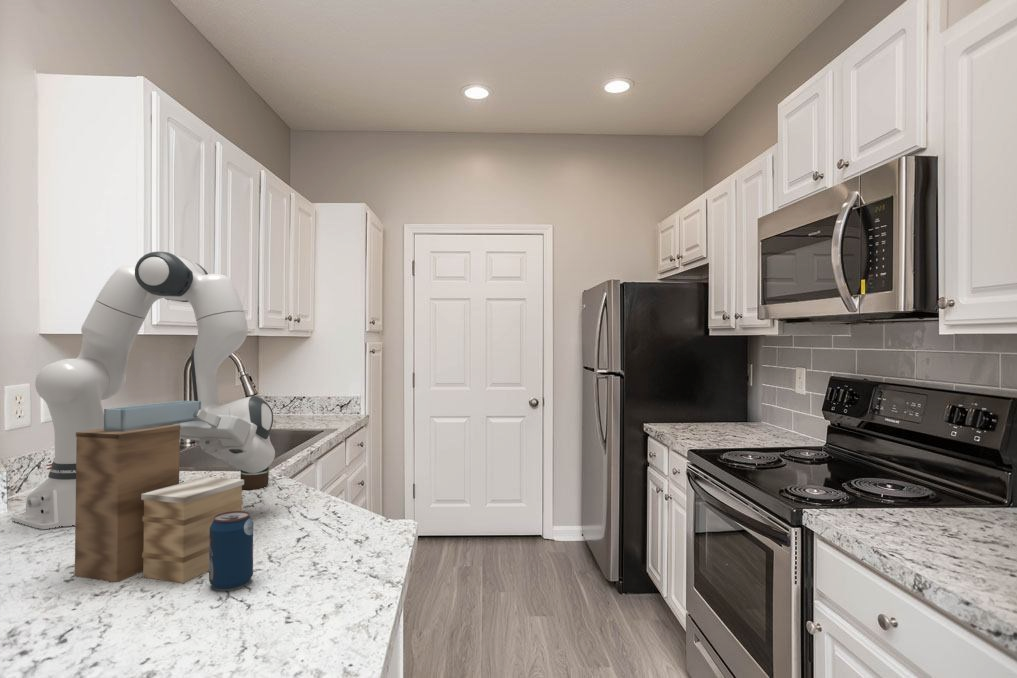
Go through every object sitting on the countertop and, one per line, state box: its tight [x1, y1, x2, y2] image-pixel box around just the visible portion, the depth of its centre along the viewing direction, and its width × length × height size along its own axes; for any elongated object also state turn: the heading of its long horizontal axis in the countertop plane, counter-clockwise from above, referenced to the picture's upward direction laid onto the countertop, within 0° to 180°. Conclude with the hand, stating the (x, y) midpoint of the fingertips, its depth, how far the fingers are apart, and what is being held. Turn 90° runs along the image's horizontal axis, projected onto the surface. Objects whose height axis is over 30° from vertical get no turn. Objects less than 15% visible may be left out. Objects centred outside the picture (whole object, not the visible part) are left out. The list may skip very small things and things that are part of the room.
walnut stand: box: [74, 425, 181, 583], centre depth 109 cm, size 10×13×26 cm
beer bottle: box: [240, 465, 270, 491], centre depth 171 cm, size 8×8×24 cm
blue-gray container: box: [103, 400, 201, 432], centre depth 114 cm, size 4×18×4 cm, turn 164°
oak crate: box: [141, 476, 244, 584], centre depth 109 cm, size 10×15×15 cm, turn 164°
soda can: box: [208, 510, 254, 592], centre depth 100 cm, size 7×7×12 cm
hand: (178, 412), depth 120 cm, fingers open, 8 cm apart
